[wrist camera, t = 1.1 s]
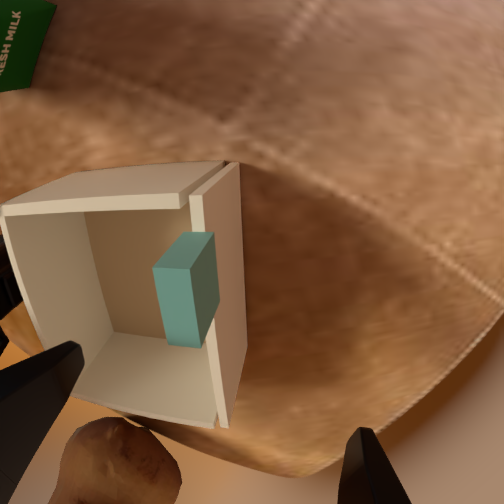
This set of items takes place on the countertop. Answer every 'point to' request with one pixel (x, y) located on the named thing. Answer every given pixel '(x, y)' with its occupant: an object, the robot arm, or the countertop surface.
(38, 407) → the robot arm
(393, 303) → the countertop surface
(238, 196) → the carton flap
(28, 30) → the milk carton
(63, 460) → the butternut squash
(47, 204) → the carton
